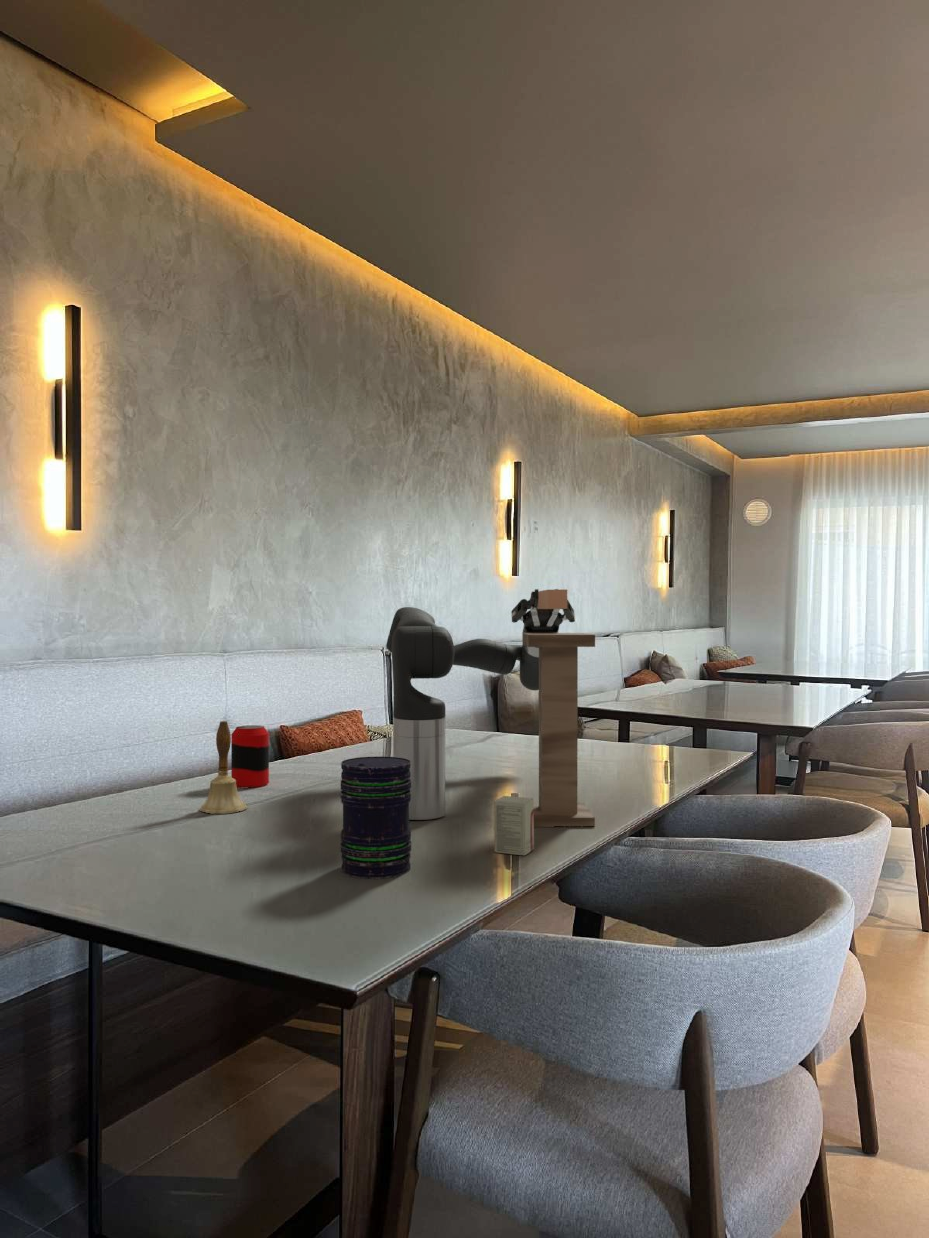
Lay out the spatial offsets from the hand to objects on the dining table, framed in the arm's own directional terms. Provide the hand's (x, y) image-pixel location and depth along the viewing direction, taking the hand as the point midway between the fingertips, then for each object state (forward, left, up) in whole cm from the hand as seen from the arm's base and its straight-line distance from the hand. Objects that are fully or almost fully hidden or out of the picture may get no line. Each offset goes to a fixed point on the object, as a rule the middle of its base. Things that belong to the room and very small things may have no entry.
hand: (546, 593), depth 189 cm
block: (-3, -7, -3) cm, 8 cm away
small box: (-30, -40, -40) cm, 64 cm away
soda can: (-53, +31, -40) cm, 73 cm away
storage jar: (-52, -40, -40) cm, 76 cm away
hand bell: (-63, +9, -40) cm, 75 cm away
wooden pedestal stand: (-12, -23, -40) cm, 47 cm away
